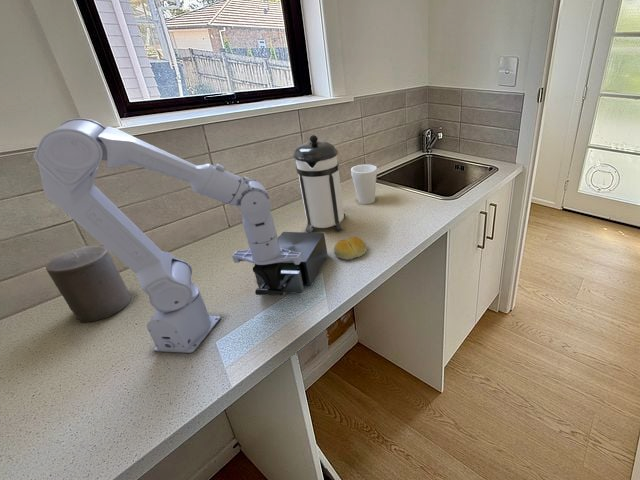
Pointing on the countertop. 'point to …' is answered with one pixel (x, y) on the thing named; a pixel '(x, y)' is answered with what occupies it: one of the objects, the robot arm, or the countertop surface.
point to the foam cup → (364, 182)
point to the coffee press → (320, 184)
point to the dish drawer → (284, 283)
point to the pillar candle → (89, 283)
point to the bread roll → (350, 248)
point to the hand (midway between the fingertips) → (275, 287)
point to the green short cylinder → (289, 267)
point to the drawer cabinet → (306, 251)
